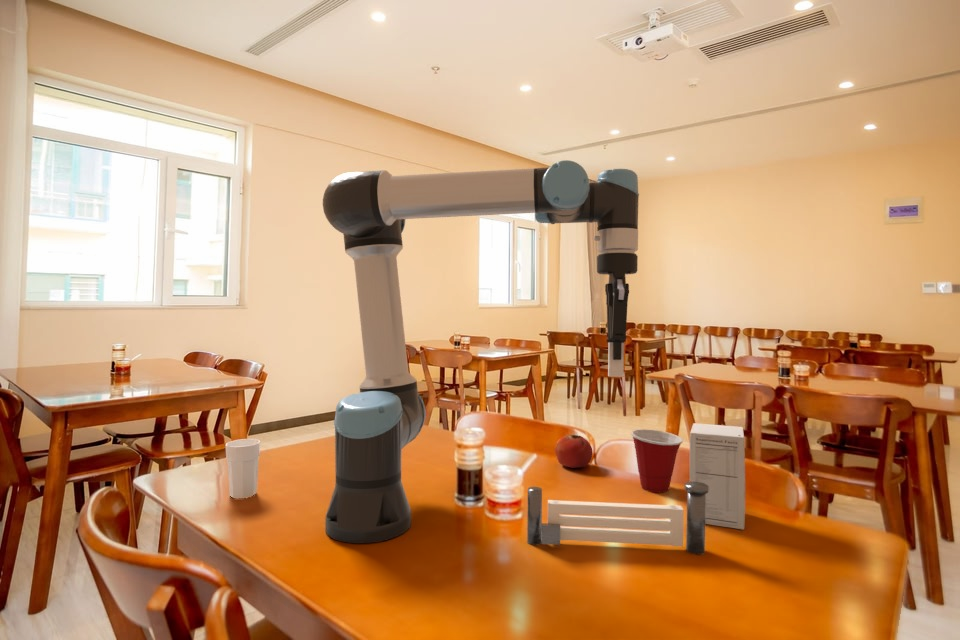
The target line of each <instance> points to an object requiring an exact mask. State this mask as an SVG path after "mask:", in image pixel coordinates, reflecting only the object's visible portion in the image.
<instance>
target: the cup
mask: <svg viewBox="0 0 960 640" xmlns="http://www.w3.org/2000/svg"><path fill="white" fill-rule="evenodd" d="M260 453H261V441H260V439H257V438H256V439H255V438H242V439H235V440H231V441H228V442H226V443H225V457H226V461H227V464H226V465H227V475H228V490H229V491H228V492H229V497H230V496H231V497H233V498H246V497H250V496H253V495H254V494H255V493H256V492H257V493H258V481H259V480H258V479H259V477H258V476H259V475H258V474H259V458H260ZM254 496H255V495H254ZM254 496H253V497H254ZM231 497H230V498H231ZM250 498H251V497H250ZM246 499H247V498H246Z"/></svg>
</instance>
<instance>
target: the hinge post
mask: <svg viewBox="0 0 960 640" xmlns="http://www.w3.org/2000/svg"><path fill="white" fill-rule="evenodd" d="M708 488H709V486H708V485H706V484H704V483H701V482H690V481H686V482H684V490H685V491H686V492H687V493H686V535H685V536H686V542H685V543H686V545H685V546H686V547H685V550H686V551H687V552H688V553H691V554H693V555H697V556H698V555H704V554H705V553H706V524H705V507H706V493H708Z"/></svg>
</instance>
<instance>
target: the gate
mask: <svg viewBox="0 0 960 640" xmlns="http://www.w3.org/2000/svg"><path fill="white" fill-rule="evenodd" d="M684 511H685V510H684V508H683V507H682V505H680V504H679V505H676V504H646V503H625V502H623V503H622V502H605V501H604V502H603V501H602V502H600V501H577V500H558V499H557V500H556V499H547V523H548V524H560V541H573V542H574V541H576V542H595V543H597V542H599V543H612V544H613V543H615V544H616V543H617V544H618V543H619V544H633V545H634V544H636V545H653V546H655V545H656V546H673V547H684V523H685V522H684V519H685V518H684V517H685V515H684V513H685V512H684Z"/></svg>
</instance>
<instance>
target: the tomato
mask: <svg viewBox="0 0 960 640" xmlns="http://www.w3.org/2000/svg"><path fill="white" fill-rule="evenodd" d="M554 452H555V454H556V459H557V461H558V463H559V464H560V465H562V466H563V467H567V468H572V469H575V468H584V467H586V466H587V465H589V464H590V463H591V460H592V459H593V458H592V457H593V447H592V445H591V443H590V442H589V441H588V440H587V439H586V438H584V437H583V436H581V435H577V434H565V435H564V436H562V437H560V438H559V439H558V440H557V441H556V444H555V446H554Z"/></svg>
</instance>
